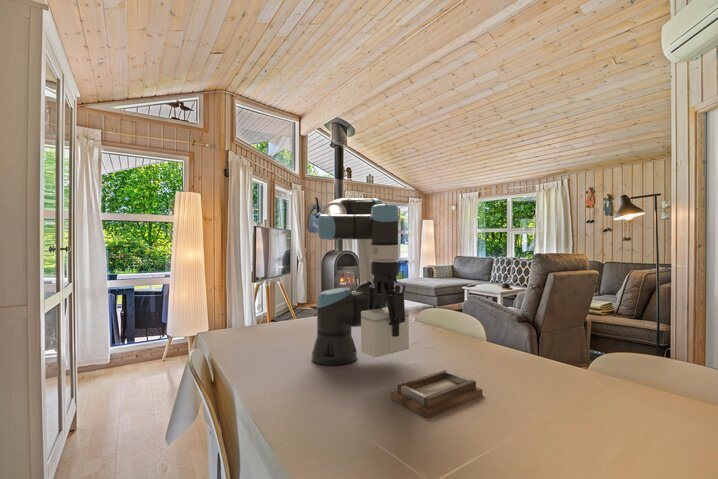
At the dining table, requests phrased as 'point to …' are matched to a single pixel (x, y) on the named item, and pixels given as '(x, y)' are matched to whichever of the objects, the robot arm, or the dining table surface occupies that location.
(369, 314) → the white lidded box
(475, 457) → the dining table surface
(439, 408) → the tray
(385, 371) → the dining table surface
